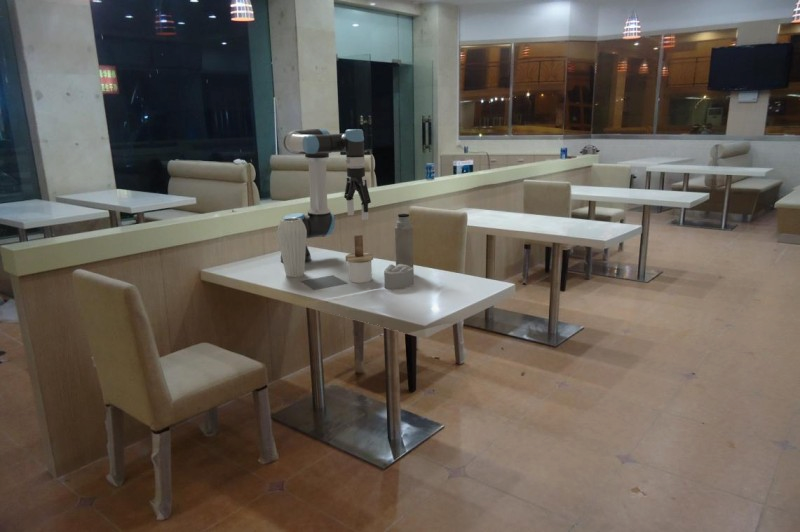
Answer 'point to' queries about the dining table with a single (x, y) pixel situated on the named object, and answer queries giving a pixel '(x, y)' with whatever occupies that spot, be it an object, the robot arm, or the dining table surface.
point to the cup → (360, 272)
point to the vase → (292, 245)
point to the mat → (323, 282)
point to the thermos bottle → (404, 241)
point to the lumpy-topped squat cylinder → (398, 277)
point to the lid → (359, 252)
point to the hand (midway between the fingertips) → (357, 217)
